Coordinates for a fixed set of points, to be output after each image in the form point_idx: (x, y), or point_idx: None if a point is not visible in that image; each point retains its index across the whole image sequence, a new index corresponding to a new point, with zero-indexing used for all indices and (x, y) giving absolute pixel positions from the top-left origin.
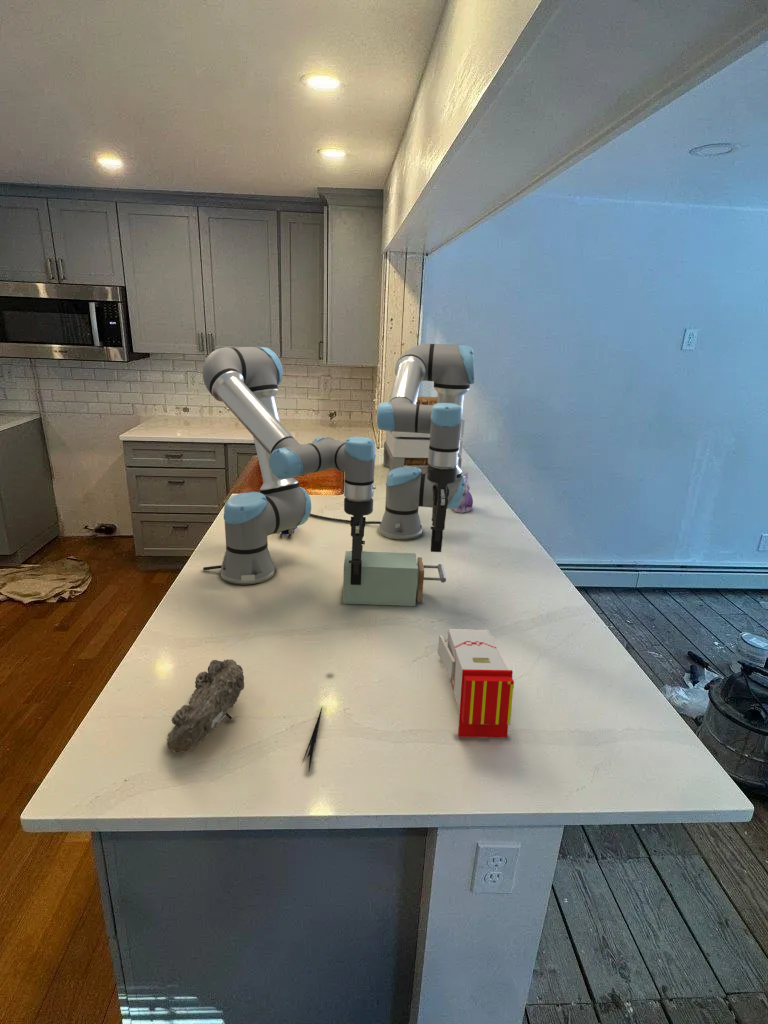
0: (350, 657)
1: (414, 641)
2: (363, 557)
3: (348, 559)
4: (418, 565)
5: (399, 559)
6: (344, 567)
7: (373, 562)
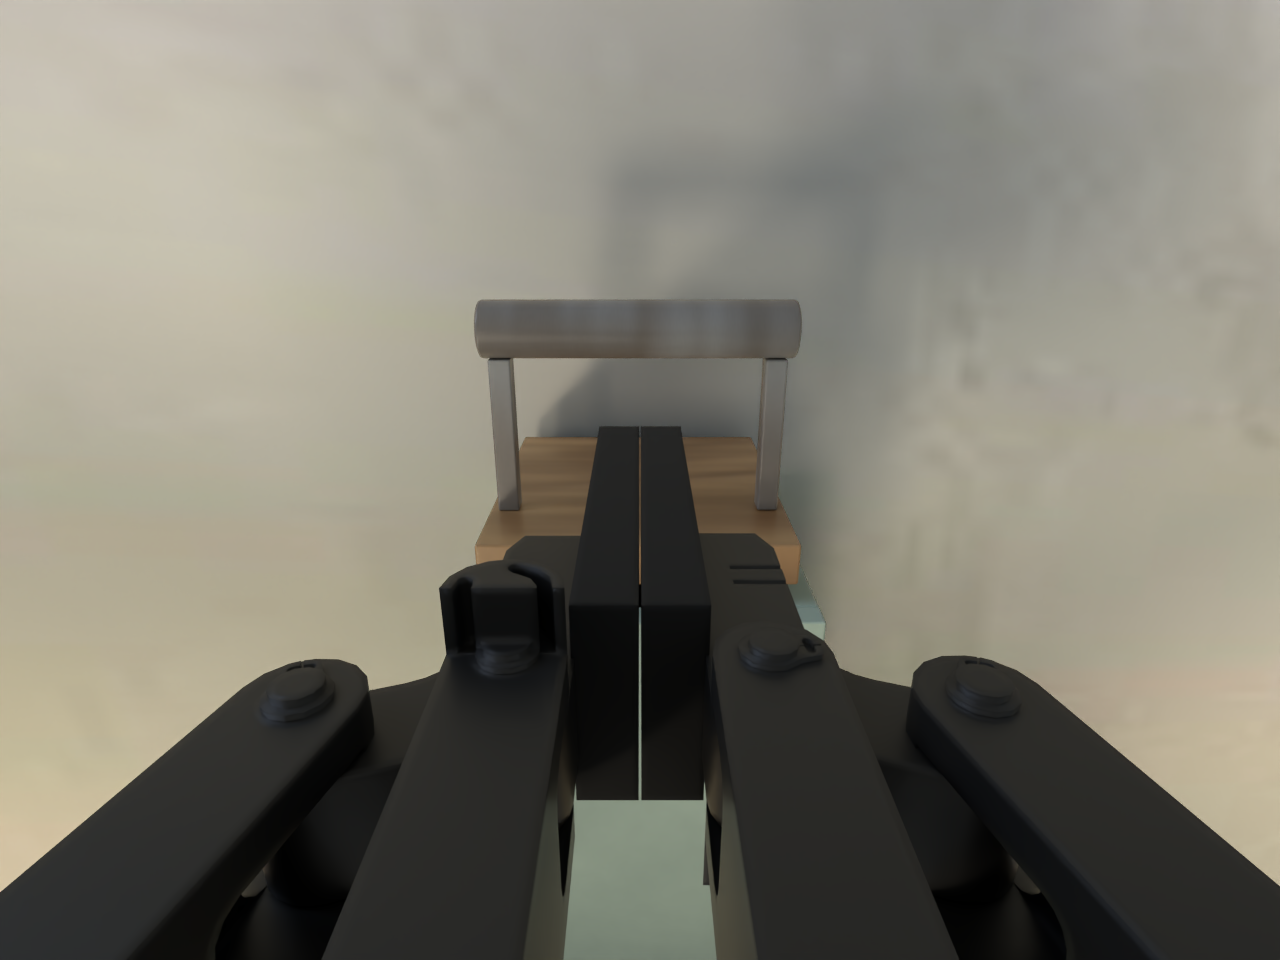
0: (1250, 787)
1: (1179, 500)
2: None
3: None
4: None
5: None
6: None
7: (707, 940)
